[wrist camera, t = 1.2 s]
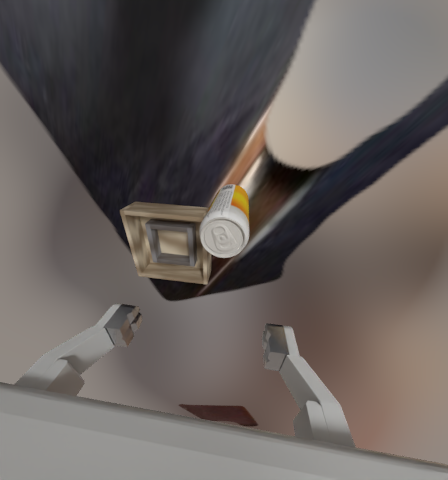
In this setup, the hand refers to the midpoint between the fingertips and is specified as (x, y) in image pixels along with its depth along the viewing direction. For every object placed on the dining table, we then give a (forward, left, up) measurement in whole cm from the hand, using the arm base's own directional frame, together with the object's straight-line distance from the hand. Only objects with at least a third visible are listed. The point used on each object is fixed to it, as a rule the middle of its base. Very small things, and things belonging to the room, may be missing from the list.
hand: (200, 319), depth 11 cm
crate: (+10, -12, -25) cm, 30 cm away
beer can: (0, 0, -25) cm, 25 cm away
